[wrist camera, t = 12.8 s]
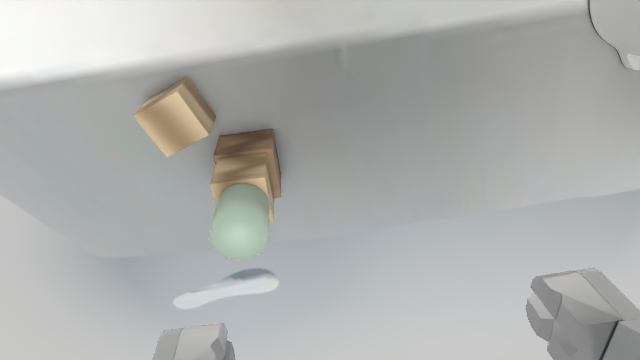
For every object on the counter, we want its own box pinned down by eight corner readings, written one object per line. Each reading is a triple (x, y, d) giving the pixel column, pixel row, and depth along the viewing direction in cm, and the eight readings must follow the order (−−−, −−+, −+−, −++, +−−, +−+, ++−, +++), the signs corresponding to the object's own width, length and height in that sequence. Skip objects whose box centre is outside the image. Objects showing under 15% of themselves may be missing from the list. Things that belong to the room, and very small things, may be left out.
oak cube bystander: (187, 76, 40) (177, 91, 36) (216, 116, 43) (208, 135, 38) (148, 98, 41) (133, 116, 37) (178, 136, 44) (167, 157, 39)
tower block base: (272, 128, 44) (272, 148, 40) (280, 174, 47) (281, 197, 43) (219, 135, 44) (213, 156, 40) (231, 180, 47) (226, 204, 43)
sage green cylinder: (264, 179, 36) (262, 211, 32) (273, 221, 38) (272, 256, 34) (212, 186, 36) (203, 219, 31) (224, 227, 38) (217, 263, 34)
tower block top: (266, 152, 40) (264, 177, 36) (274, 193, 43) (273, 221, 38) (217, 158, 40) (210, 184, 36) (228, 199, 42) (222, 227, 38)
